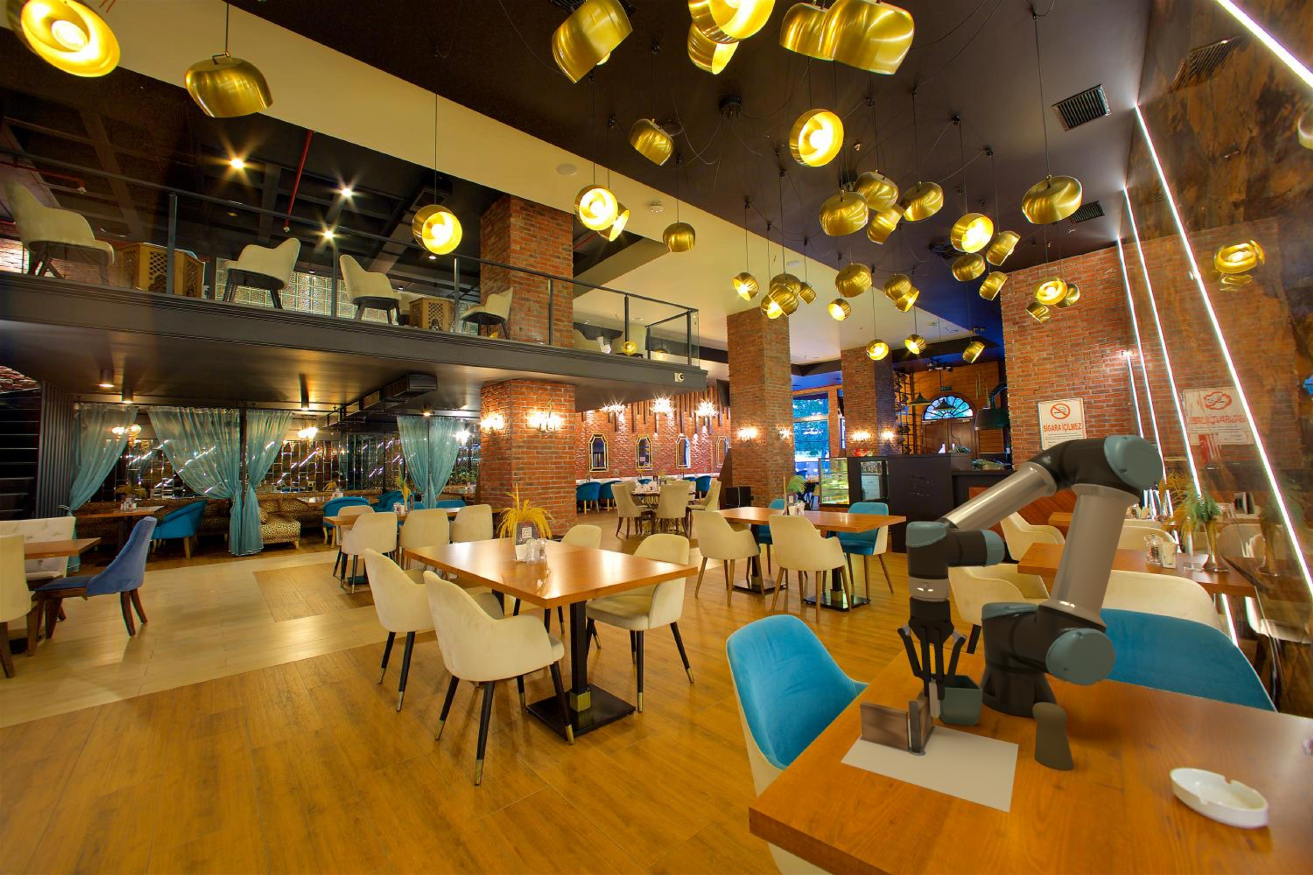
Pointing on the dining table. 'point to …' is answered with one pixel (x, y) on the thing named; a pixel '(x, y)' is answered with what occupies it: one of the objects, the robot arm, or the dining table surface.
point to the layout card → (946, 765)
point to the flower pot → (961, 701)
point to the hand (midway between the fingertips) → (935, 714)
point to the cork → (1052, 737)
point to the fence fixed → (891, 725)
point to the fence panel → (924, 716)
